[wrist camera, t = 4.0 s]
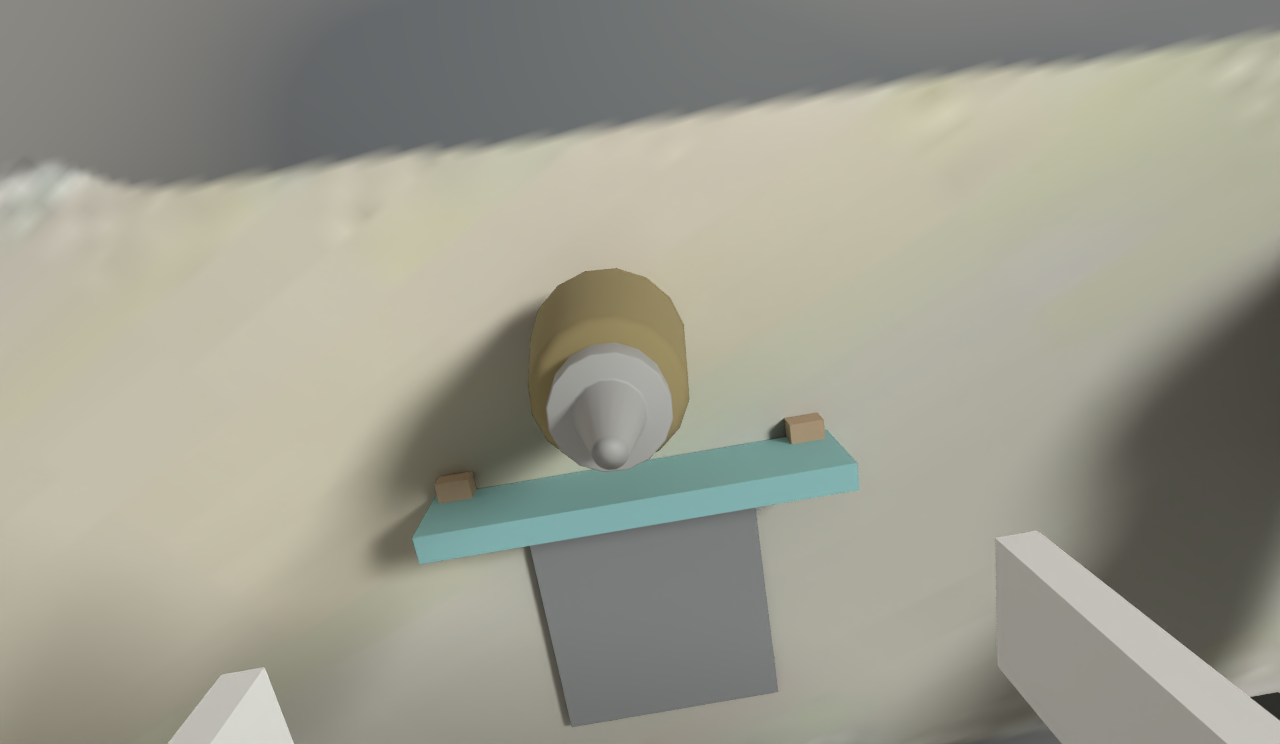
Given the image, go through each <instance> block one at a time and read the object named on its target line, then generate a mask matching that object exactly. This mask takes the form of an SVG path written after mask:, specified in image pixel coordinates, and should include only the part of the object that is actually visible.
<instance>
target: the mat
mask: <svg viewBox="0 0 1280 744" xmlns="http://www.w3.org/2000/svg"><path fill="white" fill-rule="evenodd" d="M530 549H531V554H532V558H533V562H534V567H535V571H536V575H537V580H538V584H539V588H540V592H541V597H542V601H543V605H544V610H545V614H546V618H547V623H548V627H549V631H550V636H551V640H552V644H553V649H554V653H555V657H556V662H557V666H558V670H559V675H560V679H561V683H562V688H563V692H564V696H565V701H566V705H567V709H568V713H569V718H570V722H571V726H572V727H575V726H581V725H587V724H593V723H599V722H605V721H611V720H616V719H622V718H628V717H634V716H640V715H646V714H652V713H657V712H663V711H669V710H675V709H681V708H687V707H693V706H698V705H704V704H710V703H716V702H722V701H728V700H734V699H739V698H745V697H751V696H757V695H763V694H769V693H775V692H778V687H777V679H776V671H775V663H774V655H773V647H772V638H771V630H770V622H769V614H768V606H767V598H766V590H765V582H764V574H763V566H762V558H761V550H760V542H759V534H758V526H757V518H756V510H755V508H750V509H744V510H738V511H732V512H726V513H720V514H715V515H709V516H703V517H697V518H691V519H685V520H679V521H673V522H667V523H661V524H655V525H650V526H644V527H638V528H632V529H626V530H620V531H614V532H608V533H602V534H596V535H591V536H585V537H579V538H573V539H567V540H561V541H555V542H549V543H543V544H537V545H531V546H530Z"/></svg>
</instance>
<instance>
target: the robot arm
mask: <svg viewBox="0 0 1280 744" xmlns="http://www.w3.org/2000/svg"><path fill="white" fill-rule="evenodd" d="M995 552H996V609H997V666H998V667H999V669H1000V670H1001V671H1002V672H1003V673H1004V675H1005V676H1006V677H1007V678H1008V679H1009V681H1010V682H1011V683H1012V684H1013V686H1014V687H1015V688H1016V689H1017V690H1018V692H1019V693H1020V694H1021V695H1022V696H1023V698H1024V699H1025V700H1026V701H1027V702H1028V704H1029V705H1030V706H1031V707H1032V708H1033V710H1034V711H1035V712H1036V713H1037V714H1038V716H1039V717H1040V718H1041V719H1042V721H1043V722H1044V723H1045V724H1046V725H1047V727H1048V728H1049V729H1050V730H1051V731H1052V733H1053V734H1054V735H1055V736H1056V737H1057V739H1058V740H1059V741H1060V742H1061V743H1062V744H1280V693H1278V692H1276V693H1271V694H1265V695H1260V696H1254V697H1249V696H1248V695H1246V694H1245V693H1244V692H1243V691H1241V690H1240V689H1239V688H1237V687H1236V686H1235V685H1234V684H1232V683H1231V682H1230V681H1229V680H1227V679H1226V678H1225V677H1223V676H1222V675H1221V674H1220V673H1218V672H1217V671H1216V670H1214V669H1213V668H1212V667H1211V666H1209V665H1208V664H1207V663H1206V662H1204V661H1203V660H1202V659H1200V658H1199V657H1198V656H1197V655H1195V654H1194V653H1193V652H1192V651H1190V650H1189V649H1188V648H1186V647H1185V646H1184V645H1183V644H1181V643H1180V642H1179V641H1178V640H1176V639H1175V638H1174V637H1172V636H1171V635H1170V634H1169V633H1167V632H1166V631H1165V630H1164V629H1162V628H1161V627H1160V626H1158V625H1157V624H1156V623H1155V622H1153V621H1152V620H1151V619H1149V618H1148V617H1147V616H1146V615H1144V614H1143V613H1142V612H1141V611H1139V610H1138V609H1137V608H1135V607H1134V606H1133V605H1132V604H1130V603H1129V602H1128V601H1127V600H1125V599H1124V598H1123V597H1121V596H1120V595H1119V594H1118V593H1116V592H1115V591H1114V590H1113V589H1111V588H1110V587H1109V586H1107V585H1106V584H1105V583H1104V582H1102V581H1101V580H1100V579H1099V578H1097V577H1096V576H1095V575H1093V574H1092V573H1091V572H1090V571H1088V570H1087V569H1086V568H1084V567H1083V566H1082V565H1081V564H1079V563H1078V562H1077V561H1076V560H1074V559H1073V558H1072V557H1070V556H1069V555H1068V554H1067V553H1065V552H1064V551H1063V550H1062V549H1060V548H1059V547H1058V546H1056V545H1055V544H1054V543H1053V542H1051V541H1050V540H1049V539H1048V538H1046V537H1045V536H1044V535H1042V534H1041V533H1040V532H1039V531H1032V532H1026V533H1021V534H1015V535H1009V536H1004V537H998V538H995ZM167 744H294V743H293V740H292V738H291V735H290V732H289V730H288V727H287V725H286V722H285V719H284V717H283V714H282V711H281V709H280V706H279V704H278V701H277V698H276V696H275V693H274V691H273V688H272V685H271V683H270V680H269V677H268V675H267V672H266V670H265V667H262V668H256V669H251V670H245V671H239V672H234V673H228V674H222V675H221V676H220V677H219V678H218V680H217V681H216V682H215V683H214V685H213V686H212V687H211V689H210V690H209V691H208V692H207V694H206V695H205V696H204V697H203V699H202V700H201V701H200V703H199V704H198V705H197V706H196V708H195V709H194V710H193V712H192V713H191V714H190V715H189V717H188V718H187V719H186V720H185V722H184V723H183V724H182V726H181V727H180V728H179V729H178V731H177V732H176V733H175V735H174V736H173V737H172V738H171V740H170V741H169V742H168V743H167Z"/></svg>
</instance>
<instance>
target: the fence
mask: <svg viewBox="0 0 1280 744" xmlns="http://www.w3.org/2000/svg"><path fill="white" fill-rule="evenodd" d="M784 419H785V428H786V437H783V438H777V439H771V440H765V441H759V442H753V443H747V444H741V445H735V446H729V447H723V448H717V449H712V450H706V451H700V452H694V453H688V454H682V455H676V456H670V457H664V458H658V459H652V460H646V461H644V462H642V463H640V464H638V465H636V466H634V467H632V468H630V469H628V470H619V471H609V472H602V471H598V470H594V469H593V470H587V471H581V472H575V473H569V474H563V475H557V476H552V477H546V478H540V479H534V480H528V481H522V482H516V483H510V484H504V485H498V486H492V487H486V488H480V489H476V486H475V482H474V478H473V474H472V471H470V472H464V473H458V474H452V475H446V476H440V477H438V479H437V481H436V483H435V484H434V488H435V491H436V495H437V496H435V498H434V500H433V501H432V503H431V505H430V507H429V509H428V510H427V512H426V514H425V516H424V518H423V519H422V521H421V523H420V525H419V527H418V528H417V530H416V532H415V534H414V536H413V537H412V540H413V543H414V547H415V550H416V554H417V557H418V561H419V564H425V563H431V562H437V561H443V560H449V559H455V558H461V557H466V556H472V555H478V554H484V553H490V552H496V551H502V550H508V549H514V548H520V547H526V546H531V545H537V544H543V543H549V542H555V541H561V540H567V539H573V538H579V537H585V536H591V535H596V534H602V533H608V532H614V531H620V530H626V529H632V528H638V527H644V526H650V525H655V524H661V523H667V522H673V521H679V520H685V519H691V518H697V517H703V516H709V515H715V514H720V513H726V512H732V511H738V510H744V509H750V508H756V507H762V506H768V505H774V504H780V503H785V502H791V501H797V500H803V499H809V498H815V497H821V496H827V495H833V494H839V493H845V492H850V491H856V490H859V477H858V464H857V462H856V461H855V460H854V459H853V458H852V456H851V455H850V454H849V453H848V452H847V451H846V450H845V449H844V448H843V447H842V446H841V445H840V443H839V442H838V441H837V440H836V439H835V438H834V437H833V436H832V435H831V434H830V433H829V431H828V430H825V429H824V419H823V418H822V417H821V416H820V415H819V414H818V413H814V414H808V415H802V416H796V417H790V418H784Z"/></svg>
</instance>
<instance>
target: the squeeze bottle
mask: <svg viewBox="0 0 1280 744" xmlns="http://www.w3.org/2000/svg"><path fill="white" fill-rule="evenodd" d="M528 388H529V395H530V403H531V410H532V416H533V417H534V419H535V420H536V422H537V424H538V425H539V427H540V429H541V430H542V432H543V434H544V435H545V437H546V439H547V440H548V441H549V442H550V443H551V444H553V445H554V446H555V447H557V448H558V449H559V450H560V451H561V452H562V453H564V454H565V455H567V456H568V457H569V458H571V459H572V460H573V461H575V462H576V463H577V464H579V465H580V466H583V467H587V468H591V469H594V470H598V471H602V472H609V471H619V470H628V469H630V468H632V467H634V466H636V465H638V464H640V463H642V462H644V461H646V460H648V459H650V458H651V457H652V455H653V454H654V453H655V452H657V451H659V450H660V449H661V448H662V447H663V446H664V445H665V444H666V442H667V441H668V440H669V439H670V438H671V437H672V436H673V435H674V434H675V432H676V431H677V430H678V429H679V428H680V425H681V422H682V419H683V416H684V414H685V411H686V408H687V405H688V402H689V387H688V373H687V360H686V347H685V335H684V324H683V322H682V320H681V318H680V316H679V314H678V312H677V310H676V308H675V306H674V304H673V302H672V300H671V299H670V297H669V296H668V295H666V294H665V293H664V292H663V291H662V290H660V289H659V288H658V287H657V286H656V285H654V284H653V283H652V282H651V281H650V280H649V279H647V278H646V277H643V276H639V275H636V274H633V273H630V272H626V271H623V270H620V269H617V268H615V269H605V270H594V271H585V272H583V273H581V274H579V275H577V276H575V277H574V278H572V279H570V280H568V281H566V282H564V283H562V284H560V285H559V286H557V287H556V289H555V290H554V291H553V292H552V294H551V295H550V296H549V297H548V299H547V300H546V301H545V302H544V303H543V305H542V306H541V307H540V308H539V310H538V313H537V316H536V320H535V324H534V327H533V331H532V334H531V338H530V354H529V376H528Z"/></svg>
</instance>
